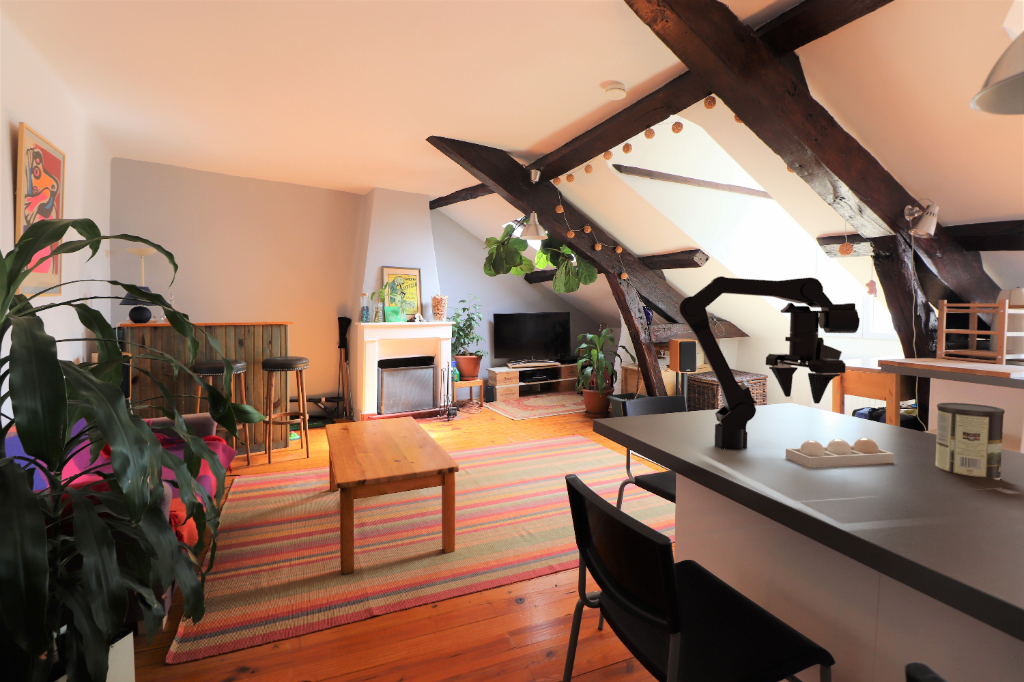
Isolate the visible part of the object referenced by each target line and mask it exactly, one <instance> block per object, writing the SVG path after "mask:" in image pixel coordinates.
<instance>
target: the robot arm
mask: <svg viewBox="0 0 1024 682" xmlns="http://www.w3.org/2000/svg"><path fill="white" fill-rule="evenodd" d="M723 294H729V295H743V296H757V297H771V298H776V299H779V300H780V299H781V300H783V301H787V302H788V303H787V305H786V306H785V307H783V308H782V309H781V310H780V313H781V314H790V318H789V319H790V321H789V336H785V337H784V339H785V340H784V341H785V342H789V345H788V347H789V348H788V349H789V350H788V353H768V355H767V356H766V357H765V366H768V367H769V368H768V369H769V370H771V372H772V373H773V375H774V377H775V379H776V380H777V382H778V385H779V386H780V389H781V390H782V392H783V395H784V397H786V398H789V397H791V394H792V387H793V386H792V385H793V377H794V374H795V372H796V371H797V370H798V367H801V368H802V367H803V368H808V369H809V371H810V372H808V373H807V376H808V377H807V378H808V381H809V387H810V391H811V397H812V400H813V404H820V403H821V400H822V398H823V396H824V394H825V392H826V390H827V387H828V386H829V384H830V382H832V381H833V379H835V378H837V377H840V376H841V374H845V373H846V366H847V364H846V363H845V361H843V359H840V358H841V355H842V353H843V352H842V350H839V349H837V348H834V347H832V346H829V345H827V344H825V343H824V341H825V340H824V338H823V337H820V336H819V328H820V329H822V330H823V332H824V333H826V334H856V333H857V332H858V330H859V327H860V321H861V320H860V317H859V312H858V310H857V309H856V303H854V302H853V303H852V302H849V303H833V302H832V301H831V299H830V298H829V297H828V296H827V294H826V293H825V292H824V286H823V284H822V283H821V281H819V279H817V278H815V277H803V278H793V279H792V278H791V279H784V280H783V279H782V280H772V279H771V280H769V279H768V280H767V279H755V278H754V279H752V278H751V279H750V278H737V277H736V278H735V277H725V276H717V277H715V278H713V279H712V280H711V281H710V283H708V284H707V285H706V286H704V287H702V288H701V290H699V291H698V292H696V293H695V294H694V295H691V296H690V295H689V296H688V297H684V298H682V299H680V301H679V302H678V304H677V307H676V309H677V314H678V316H679V317H680V318H681V320H682V321H683V322H684V324H685V325H686V326H687V327H688V329H689V330H690V331H691V332H692V333H693V335H694V337H695V339H696V340H697V343H698V344H699V346H700V349H701V350H702V352H703V355H704V356H705V359H706V360H707V363H708V365H709V367H710V369H711V371H712V373H713V375H714V377H715V379H716V381H717V383H718V385H719V388H720V389H719V390H720V393H721V399H722V401H723V406H722V407H720V409H718V410H717V411H716V412H715V413H714V415H715V418H716V421H717V422H718V423H715V424H714V447H716V448H718V449H721V450H729V451H730V450H731V451H741V450H743V449H746V448H748V431H747V425H748V422H749V421H750V420H752V419H753V418H755V416H756V413H757V408H756V404H758V403H757V401H756V400H755V399H754V398H753V396H752V393H751V390H750V387H748V386H747V385H746V384H745V383H743V384H739V383H738V381H737V380H736V377H735V376H734V374H733V372H732V370H731V368H730V366H729V363H728V362H727V360H726V357H725V355H724V354H723V351H722V350H721V347H720V345H719V344H718V342H717V340H716V337H715V335H714V333H713V332H712V329H711V327H710V320H709V316H708V312H707V307H709V306H710V305H711V304H712V303H713V302H714V301H716V299H717V300H718V298H719V297H720V296H721V295H723ZM794 303H795V304H804V305H795V304H794ZM812 308H815V309H817V308H820V309H821V310H811V309H812Z"/></svg>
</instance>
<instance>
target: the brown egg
mask: <svg viewBox="0 0 1024 682" xmlns="http://www.w3.org/2000/svg"><path fill="white" fill-rule="evenodd" d="M878 445H879V444H877V443H876V442H875V441H874V440H873V439H871V438H867V437H862V438H859V439H857V440H856V441H854V443H853V449H854V451H857V452H860V453H863V454H876V453H878V451H879V449H880V448H879V446H878Z"/></svg>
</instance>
